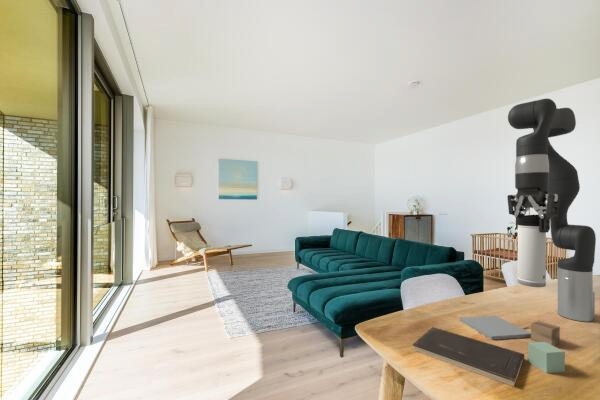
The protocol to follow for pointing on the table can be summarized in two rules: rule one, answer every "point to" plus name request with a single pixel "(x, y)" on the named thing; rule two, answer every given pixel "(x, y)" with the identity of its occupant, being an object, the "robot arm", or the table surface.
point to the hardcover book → (471, 354)
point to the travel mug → (531, 252)
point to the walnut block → (545, 333)
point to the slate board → (495, 327)
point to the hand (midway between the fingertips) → (531, 230)
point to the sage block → (546, 357)
